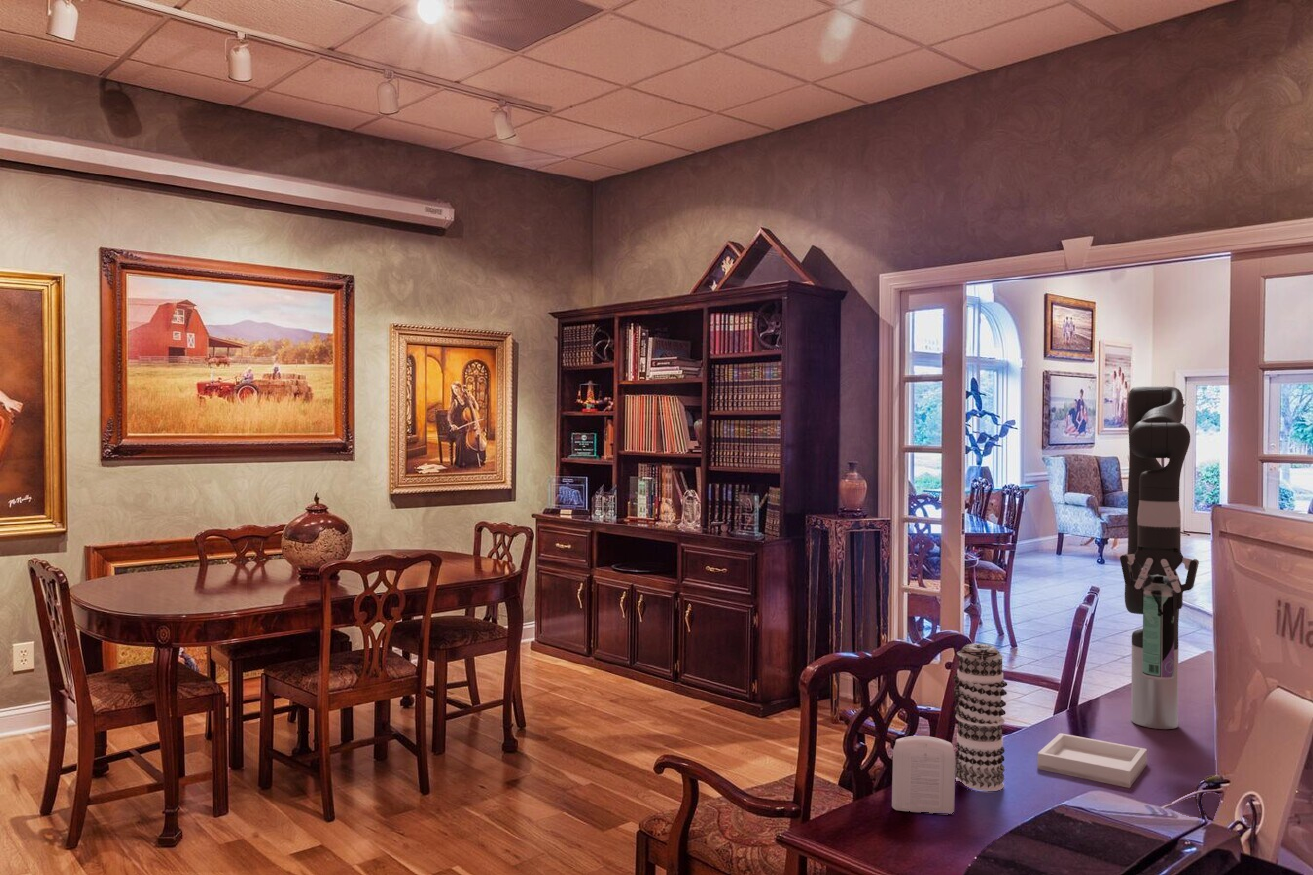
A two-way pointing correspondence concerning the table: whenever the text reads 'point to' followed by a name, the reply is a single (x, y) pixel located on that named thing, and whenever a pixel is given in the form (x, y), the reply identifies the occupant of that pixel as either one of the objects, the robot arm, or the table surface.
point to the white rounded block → (923, 775)
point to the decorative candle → (980, 717)
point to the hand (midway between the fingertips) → (1158, 608)
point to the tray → (1093, 759)
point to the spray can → (1158, 631)
